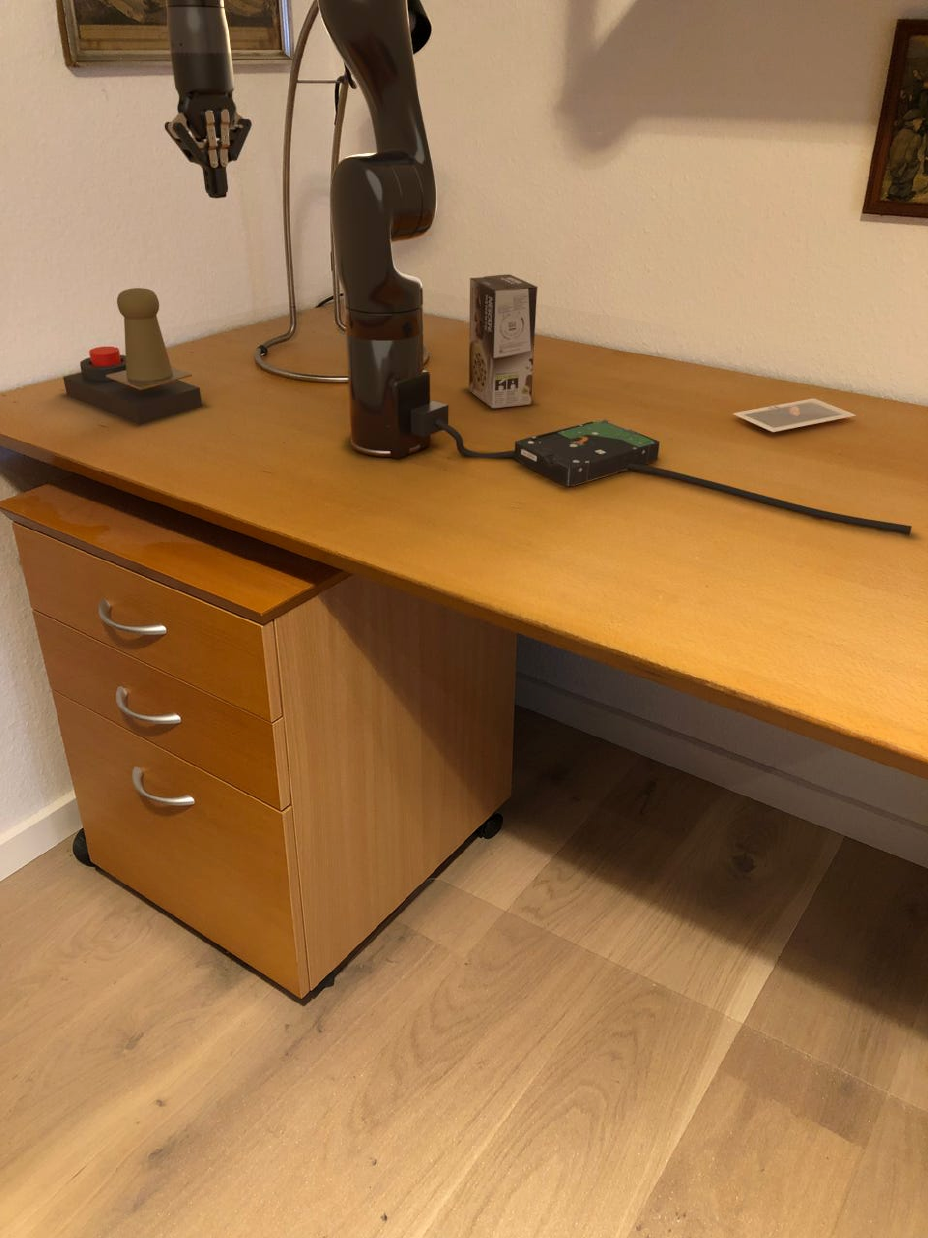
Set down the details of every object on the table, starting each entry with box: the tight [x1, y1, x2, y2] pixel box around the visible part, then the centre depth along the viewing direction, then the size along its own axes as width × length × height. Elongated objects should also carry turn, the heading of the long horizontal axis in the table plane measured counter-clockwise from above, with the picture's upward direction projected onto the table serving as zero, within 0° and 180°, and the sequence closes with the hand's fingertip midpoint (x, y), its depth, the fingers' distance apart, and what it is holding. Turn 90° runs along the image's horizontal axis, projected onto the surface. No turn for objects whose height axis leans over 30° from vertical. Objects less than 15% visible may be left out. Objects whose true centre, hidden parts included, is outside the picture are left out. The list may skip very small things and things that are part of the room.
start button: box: [88, 346, 121, 366], centre depth 133 cm, size 4×4×2 cm
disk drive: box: [513, 419, 661, 487], centre depth 115 cm, size 10×3×15 cm
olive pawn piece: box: [116, 287, 173, 381], centre depth 124 cm, size 6×6×11 cm
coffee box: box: [468, 274, 538, 409], centre depth 132 cm, size 9×6×16 cm
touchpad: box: [731, 397, 857, 433], centre depth 128 cm, size 8×15×2 cm, turn 117°
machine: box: [62, 354, 203, 426], centre depth 131 cm, size 18×10×4 cm, turn 50°
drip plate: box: [106, 366, 193, 390], centre depth 127 cm, size 8×8×1 cm
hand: (217, 197), depth 129 cm, fingers closed
